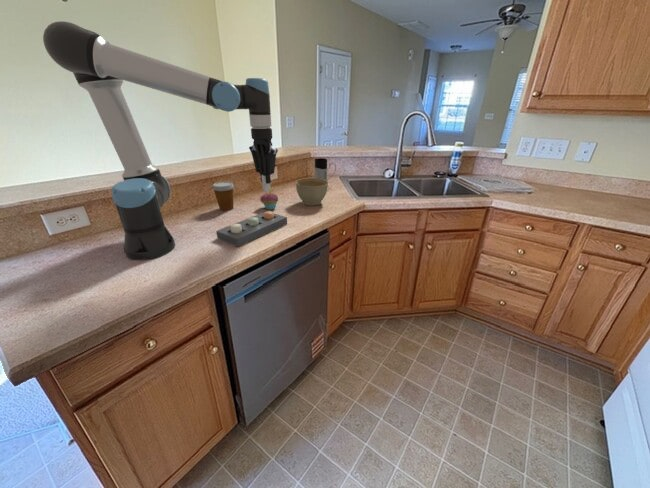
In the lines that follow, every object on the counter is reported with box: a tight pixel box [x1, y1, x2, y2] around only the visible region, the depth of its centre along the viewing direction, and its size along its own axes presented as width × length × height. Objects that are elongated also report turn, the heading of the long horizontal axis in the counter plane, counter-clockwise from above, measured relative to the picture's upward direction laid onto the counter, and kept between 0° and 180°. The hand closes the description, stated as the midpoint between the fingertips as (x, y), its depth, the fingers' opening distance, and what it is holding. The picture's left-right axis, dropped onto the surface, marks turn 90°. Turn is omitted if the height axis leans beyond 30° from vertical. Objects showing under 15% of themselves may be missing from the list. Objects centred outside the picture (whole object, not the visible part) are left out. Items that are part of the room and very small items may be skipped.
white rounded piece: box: [229, 223, 242, 235], centre depth 106 cm, size 4×4×4 cm
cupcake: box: [259, 184, 279, 210], centre depth 135 cm, size 9×8×12 cm
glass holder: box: [314, 157, 337, 181], centre depth 174 cm, size 9×14×15 cm, turn 67°
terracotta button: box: [264, 210, 275, 220], centre depth 119 cm, size 4×4×4 cm
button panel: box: [215, 211, 288, 247], centre depth 113 cm, size 26×12×3 cm, turn 145°
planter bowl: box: [295, 177, 329, 207], centre depth 143 cm, size 16×16×11 cm
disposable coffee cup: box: [212, 181, 235, 212], centre depth 134 cm, size 10×10×12 cm
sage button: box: [247, 216, 259, 227], centre depth 113 cm, size 4×4×4 cm
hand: (266, 190), depth 114 cm, fingers closed
